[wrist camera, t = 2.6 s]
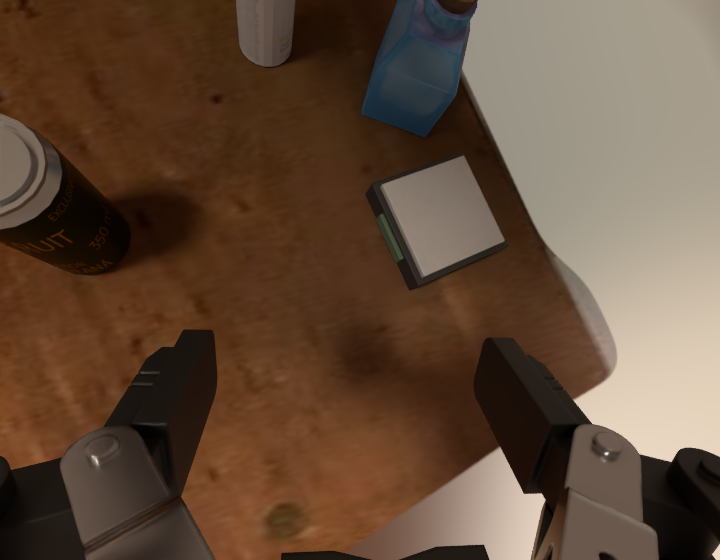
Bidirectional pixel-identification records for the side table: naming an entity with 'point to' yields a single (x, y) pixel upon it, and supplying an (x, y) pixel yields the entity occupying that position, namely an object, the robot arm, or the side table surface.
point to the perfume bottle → (419, 63)
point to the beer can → (54, 206)
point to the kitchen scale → (435, 219)
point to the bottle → (265, 30)
